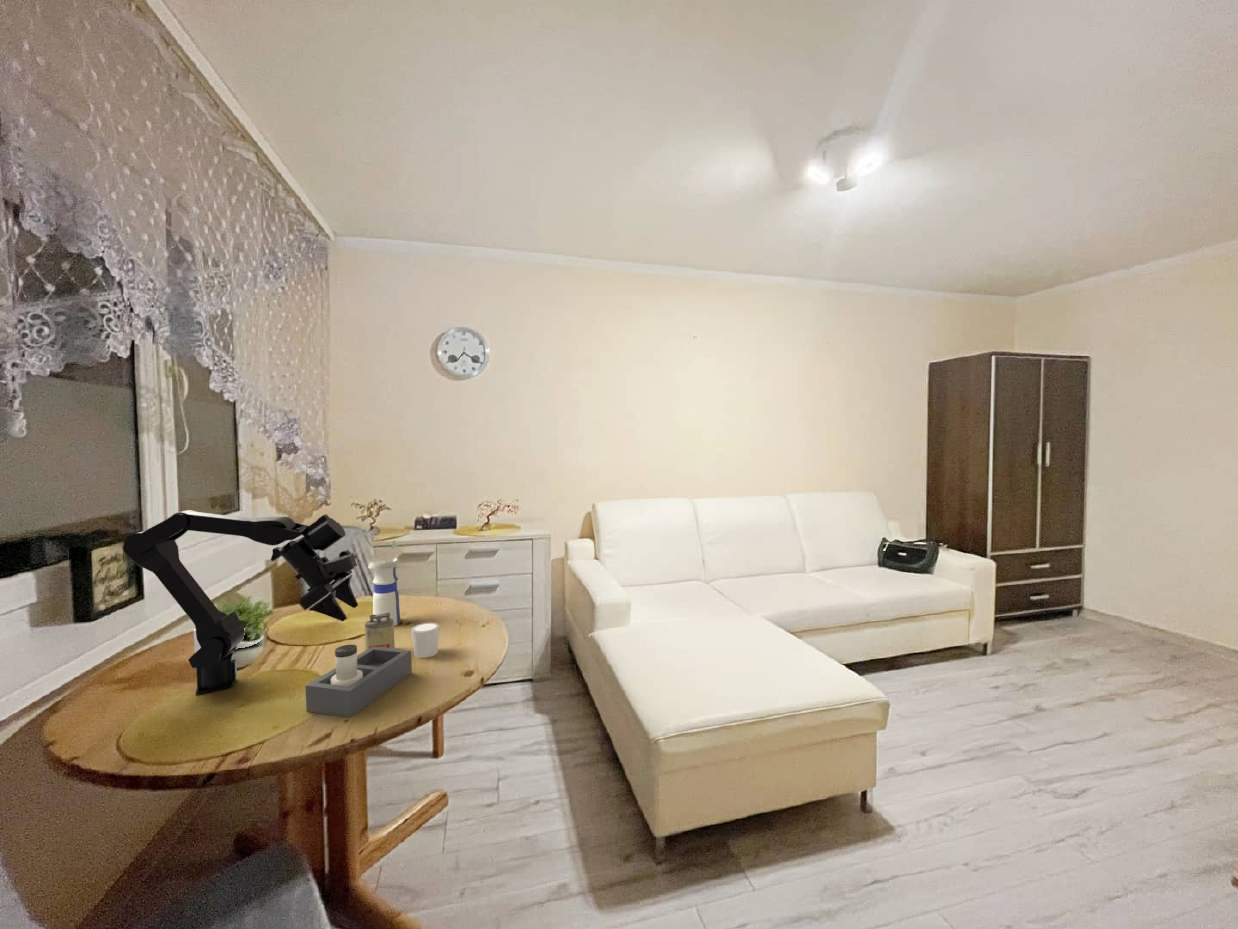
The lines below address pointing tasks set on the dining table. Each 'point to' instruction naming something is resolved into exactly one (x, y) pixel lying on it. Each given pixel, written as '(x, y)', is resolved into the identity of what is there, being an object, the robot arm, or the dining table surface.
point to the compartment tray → (359, 683)
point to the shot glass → (425, 639)
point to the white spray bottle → (386, 587)
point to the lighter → (379, 632)
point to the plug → (346, 666)
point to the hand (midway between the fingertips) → (350, 613)
